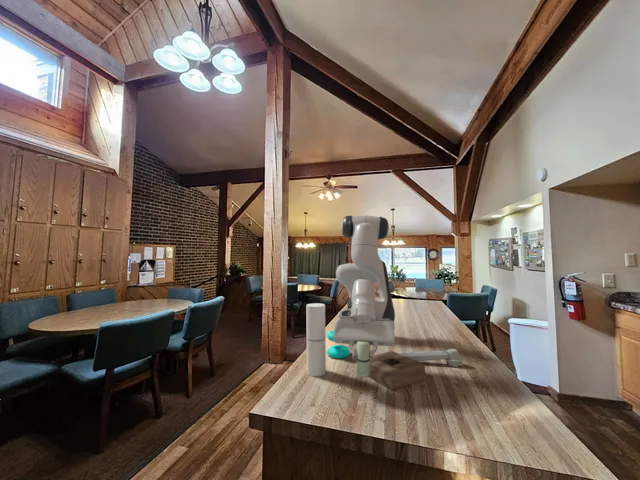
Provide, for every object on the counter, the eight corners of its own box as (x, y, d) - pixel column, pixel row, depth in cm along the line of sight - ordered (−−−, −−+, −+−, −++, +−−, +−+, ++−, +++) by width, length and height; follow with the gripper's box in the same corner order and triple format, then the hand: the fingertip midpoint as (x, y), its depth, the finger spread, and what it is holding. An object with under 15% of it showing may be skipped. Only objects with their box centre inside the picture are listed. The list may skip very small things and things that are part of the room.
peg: (354, 373, 88) (354, 342, 89) (364, 370, 90) (363, 340, 91) (362, 379, 85) (362, 346, 85) (372, 375, 87) (372, 343, 87)
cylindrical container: (303, 374, 101) (303, 306, 103) (310, 367, 108) (310, 302, 109) (321, 377, 99) (321, 307, 100) (328, 369, 106) (327, 303, 107)
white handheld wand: (395, 350, 116) (457, 344, 112) (397, 366, 116) (460, 361, 111) (396, 354, 111) (462, 349, 107) (398, 371, 110) (465, 366, 106)
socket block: (360, 372, 103) (360, 358, 103) (391, 363, 111) (391, 350, 111) (392, 390, 89) (391, 374, 89) (425, 378, 97) (424, 364, 98)
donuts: (340, 327, 128) (354, 332, 120) (340, 349, 128) (354, 356, 119) (322, 331, 123) (335, 336, 114) (322, 354, 122) (336, 361, 114)
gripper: (393, 323, 97) (396, 363, 87) (335, 321, 101) (332, 358, 91) (394, 313, 93) (398, 354, 83) (334, 311, 96) (330, 350, 87)
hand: (363, 356), depth 87 cm, fingers closed on peg, 4 cm apart
